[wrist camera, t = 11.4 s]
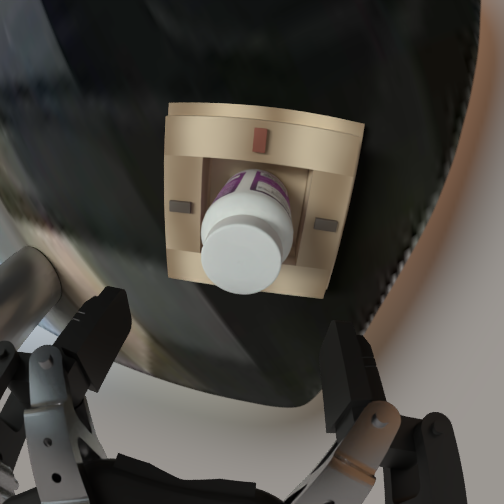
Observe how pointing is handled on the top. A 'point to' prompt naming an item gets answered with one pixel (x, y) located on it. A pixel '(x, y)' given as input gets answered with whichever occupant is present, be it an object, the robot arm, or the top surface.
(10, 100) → the top surface
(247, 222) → the pill bottle
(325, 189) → the holder
